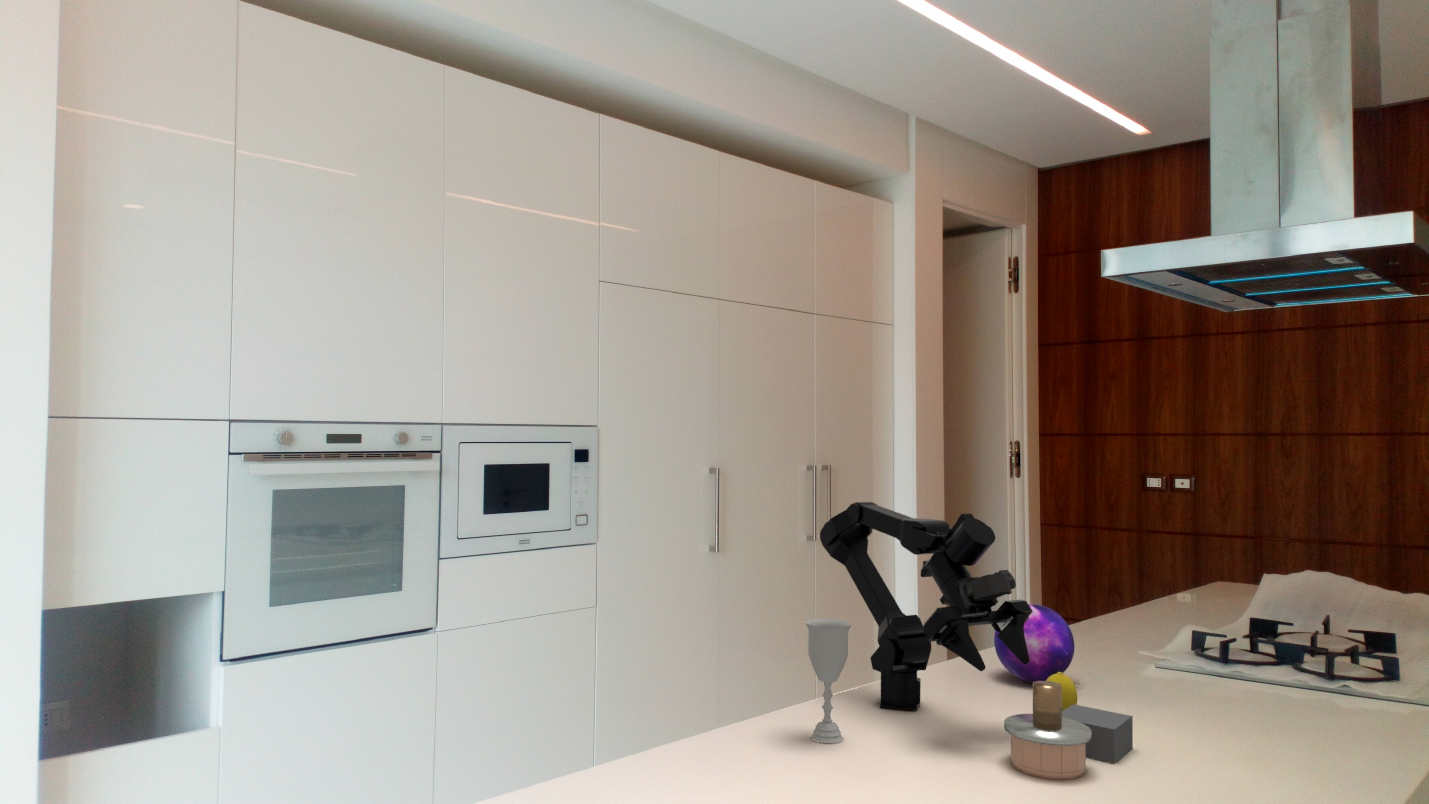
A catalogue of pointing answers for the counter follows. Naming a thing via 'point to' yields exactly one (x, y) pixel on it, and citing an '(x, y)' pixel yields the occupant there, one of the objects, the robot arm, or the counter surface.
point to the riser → (1104, 732)
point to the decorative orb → (1040, 646)
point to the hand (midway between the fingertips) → (1005, 666)
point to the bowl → (1048, 759)
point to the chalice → (827, 667)
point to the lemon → (1065, 689)
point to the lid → (1047, 720)
